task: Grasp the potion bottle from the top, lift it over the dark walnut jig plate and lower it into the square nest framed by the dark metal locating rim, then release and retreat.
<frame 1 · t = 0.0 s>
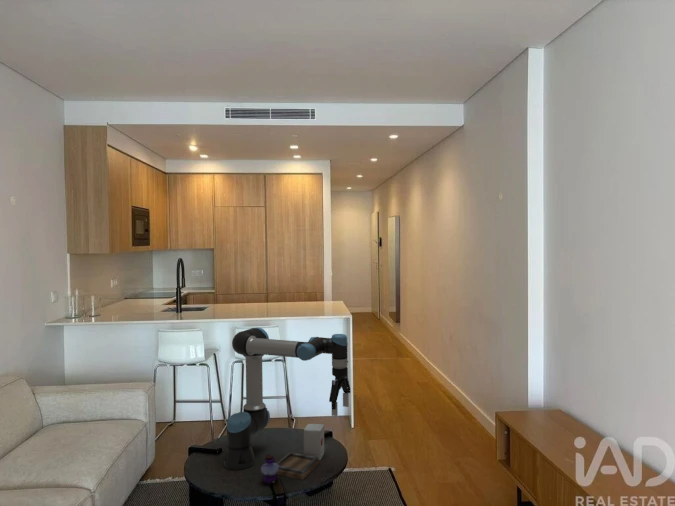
hand: (340, 411, 222), 28 cm above the table, tool pointing down, fingers open, 13 cm apart
jig plate: (295, 468, 224), on the table
supplement box: (314, 456, 237), on the table
potion bottle: (270, 482, 211), on the table
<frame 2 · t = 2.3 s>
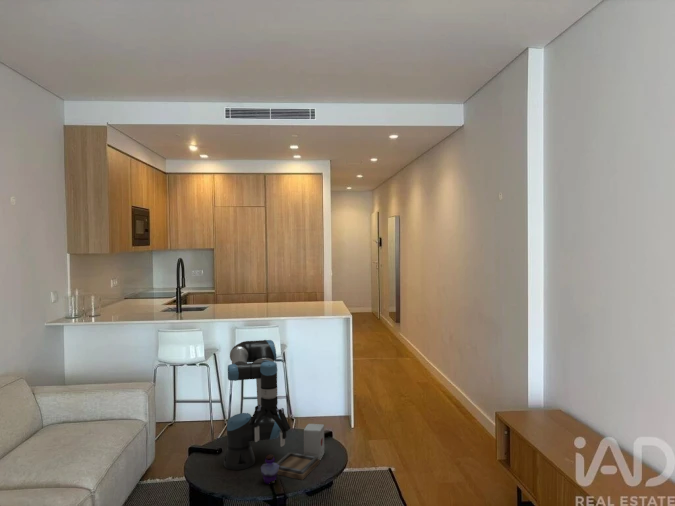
hand: (269, 443, 211), 18 cm above the table, tool pointing down, fingers open, 13 cm apart
nothing on the table moved.
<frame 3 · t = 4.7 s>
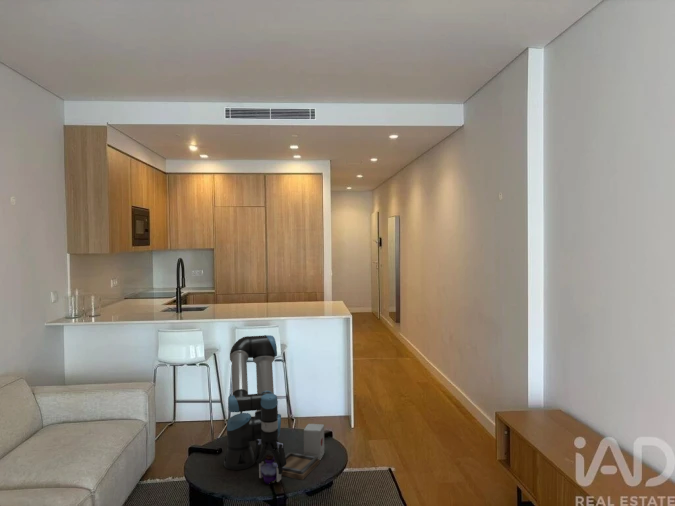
hand: (270, 478, 211), 1 cm above the table, tool pointing down, fingers closed on potion bottle, 9 cm apart
potion bottle: (270, 482, 211), on the table, touching gripper
everything else where it was.
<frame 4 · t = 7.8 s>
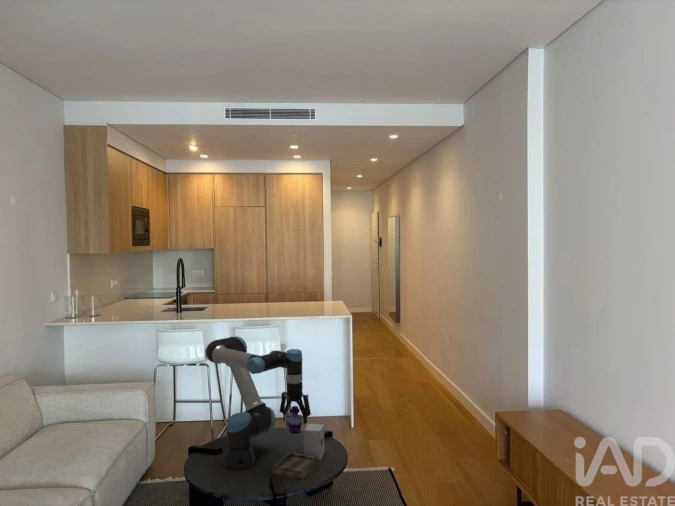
hand: (295, 428, 224), 19 cm above the table, tool pointing down, fingers closed on potion bottle, 9 cm apart
potion bottle: (295, 431, 224), point 18 cm above the table, touching gripper
everything else where it was.
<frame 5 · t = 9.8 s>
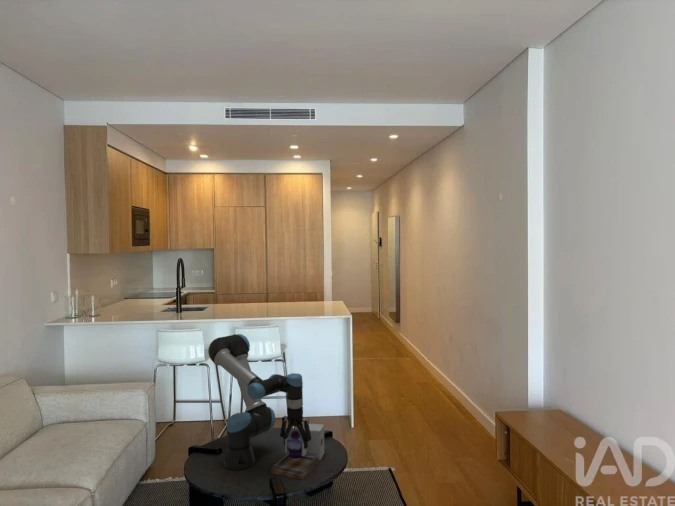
hand: (295, 453, 224), 7 cm above the table, tool pointing down, fingers closed on potion bottle, 9 cm apart
potion bottle: (295, 456, 224), point 6 cm above the table, touching gripper
everything else where it was.
when the fingers open (5 cm above the table, at t = 11.3 s): potion bottle drops 1 cm, resting on jig plate.
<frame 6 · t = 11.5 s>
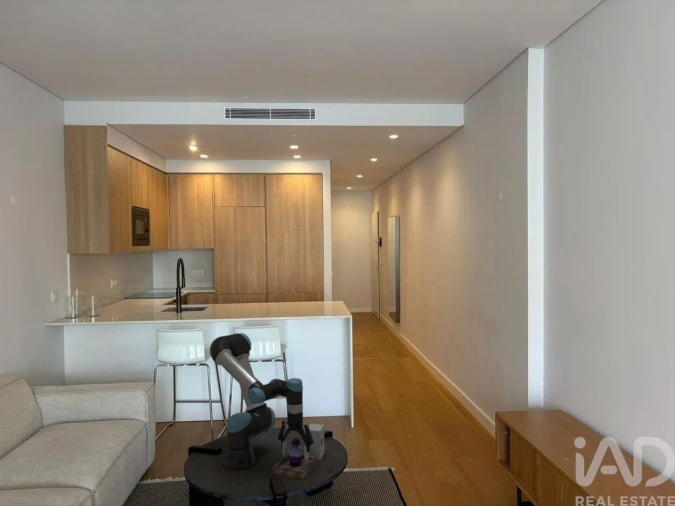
hand: (295, 456, 224), 6 cm above the table, tool pointing down, fingers open, 11 cm apart
potion bottle: (295, 464, 224), point 2 cm above the table, touching jig plate
everything else where it was.
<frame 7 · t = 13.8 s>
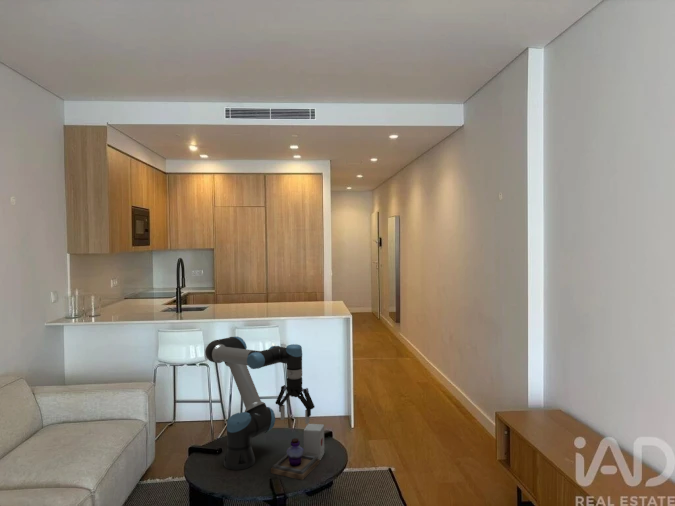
hand: (294, 421, 224), 23 cm above the table, tool pointing down, fingers open, 13 cm apart
nothing on the table moved.
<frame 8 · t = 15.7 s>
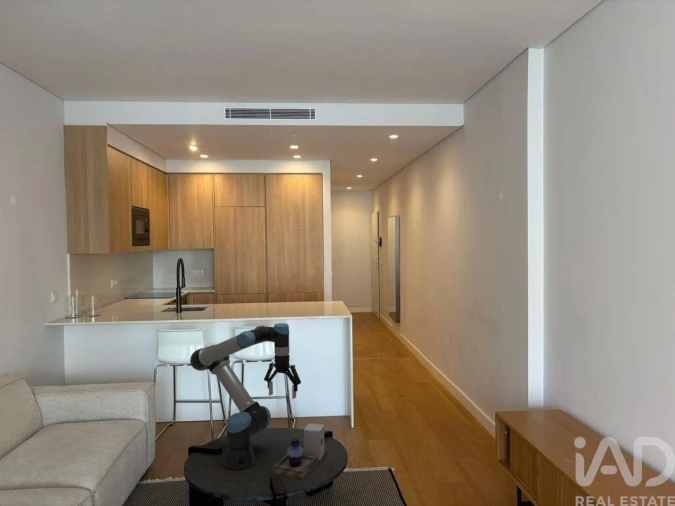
hand: (282, 396, 233), 32 cm above the table, tool pointing down, fingers open, 13 cm apart
nothing on the table moved.
at the end: potion bottle 0.1 cm off-centre on the jig plate, point 1.8 cm above the jig plate's base; potion bottle tilted 0°; the gripper is holding nothing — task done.
